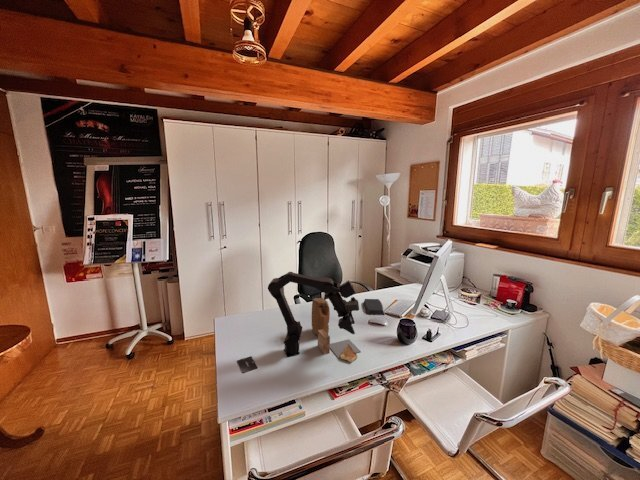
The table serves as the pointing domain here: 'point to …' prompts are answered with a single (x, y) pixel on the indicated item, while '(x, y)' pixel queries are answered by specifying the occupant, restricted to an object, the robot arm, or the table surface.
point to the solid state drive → (247, 364)
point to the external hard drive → (373, 307)
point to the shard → (348, 354)
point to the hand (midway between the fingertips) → (353, 328)
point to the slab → (323, 341)
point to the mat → (342, 347)
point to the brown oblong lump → (320, 315)
